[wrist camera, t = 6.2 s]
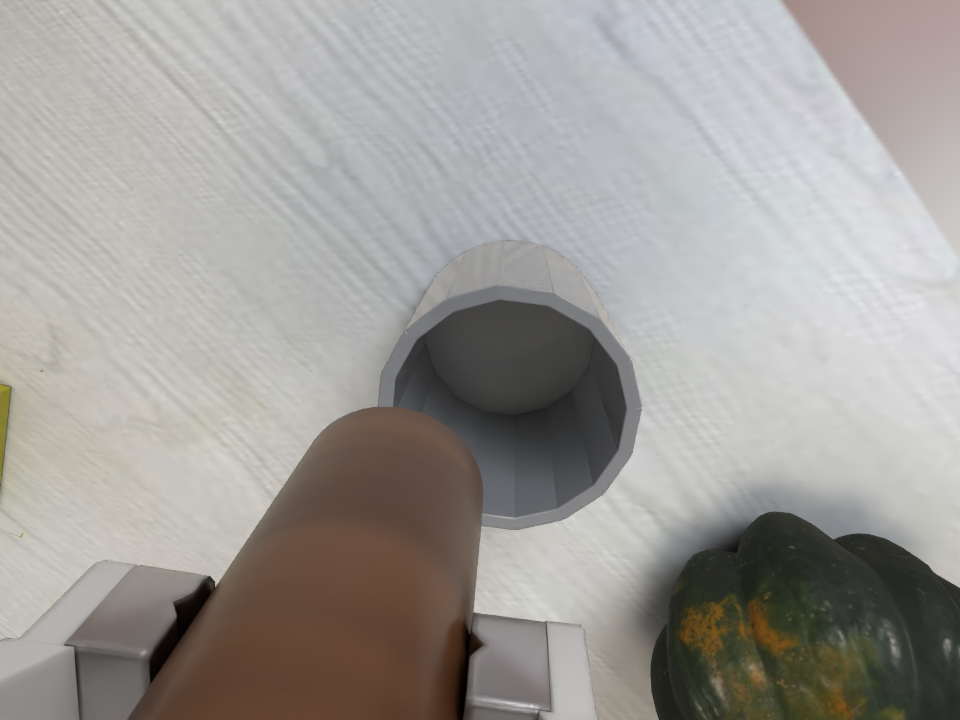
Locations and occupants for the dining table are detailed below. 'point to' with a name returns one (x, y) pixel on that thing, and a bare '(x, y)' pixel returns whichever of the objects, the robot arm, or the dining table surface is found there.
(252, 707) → the brown bottle
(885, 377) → the dining table surface
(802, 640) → the squash
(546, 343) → the steel cup
